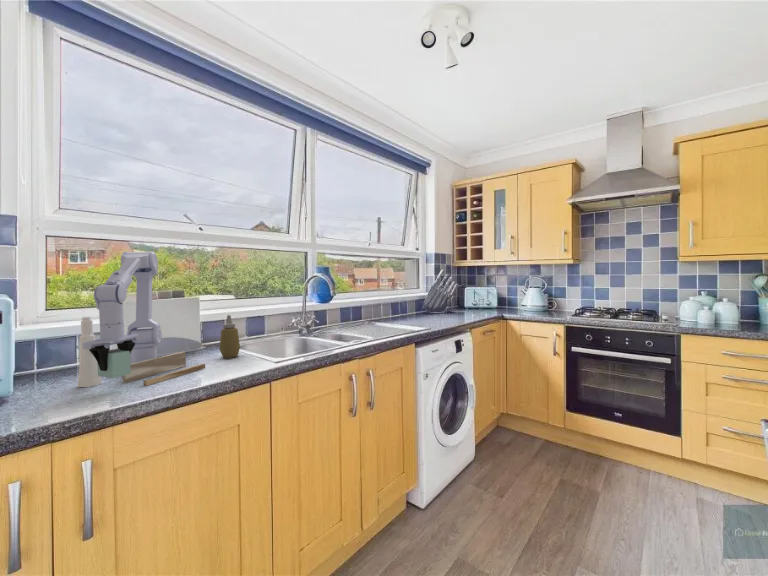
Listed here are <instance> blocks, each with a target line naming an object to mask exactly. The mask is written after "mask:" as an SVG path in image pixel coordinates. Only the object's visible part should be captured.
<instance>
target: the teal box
mask: <svg viewBox="0 0 768 576" xmlns="http://www.w3.org/2000/svg"><path fill="white" fill-rule="evenodd" d="M107 365H108V367H107V371H100V368H99V365H98V362H97V369H98V376H100V377H102V378H110V379H116V378H118V377H119V378H120V377H123V375H127V374H131V368H130V351H123V350H120V349H118V347H117V348H113V349H109V351H108V357H107Z"/></svg>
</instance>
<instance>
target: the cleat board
mask: <svg viewBox="0 0 768 576" xmlns="http://www.w3.org/2000/svg"><path fill="white" fill-rule="evenodd" d="M186 358H187V357H186V351H180V352H174V353H172V354H166V355H163V356H157V358H153V359H149V360H145V361H141V362H137V363H132V364H130V368H131V374H127V375H123V376H122V384H123V383H124V384H126V383H129V382H130V381H131V382H134V381H137V379H138V380H141V379H144V377H145V378H147V377H151V376H154V375H158V374H162V373H165V371H166V372H168V373H166V374H162V375H158V376H155V377H152V378H147V379H145V380H143V386H146V387H149V386H150V385H153V384H154V385H155V384H158V383H160V382H161V383H162V382H164V381H167V380H170V378H171V379H173V378H177V377H180V376H183V375H187V374H190V373H193V372H197V371H199V370H203V369H205V368H206V364H205V363H200V364H196V365H193V366H189V367H186V366H187V363H186V361H187V359H186ZM183 367H186V368H183ZM180 368H183V369H180ZM176 369H179V370H177V371H176ZM169 370H170V371H172V372H170V371H169ZM173 370H175V371H173ZM157 382H158V383H157Z"/></svg>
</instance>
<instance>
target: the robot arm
mask: <svg viewBox="0 0 768 576" xmlns="http://www.w3.org/2000/svg"><path fill="white" fill-rule="evenodd" d="M158 263H159V260H158V257H157V254H156V253H155V251H123V253H122V254H121V255H120V264H121V265H120V268H119V269H118V270H114V271H113V272H112V273H111V274H110V276H109V277H108V278H107V280H106V281H105V282H104V284H100V285H98V286H96V287H95V288H94V291H93V300H94V301H95V302H94V303H95V304H96V310H98V314H99V315H98V317H99V318H98V319H99V336H100V337H99V338H98V339H95V340H93V341H89V342H83V349H87V350H88V349H89V351H90V352H91V353H92V354H93V356H94V357H95V359H96V360H97V362H98V365H99V368H100V371H107V367H108V365H107V357H108V351H109V350H110V348H109V347H106V346H112V345H116V346H117V348H118V349H120V350H123V351H130V364H132V363H137V362H141V361H145V360H149V359H153V358H158V352H157V346H158V345H159V344H160V343H161V342H162V330H161V325H160V323H158V322H156V321H155V320H153V319H152V318H153V315H152V313H153V279H154V276H156V275H157V274H158V269H159V267H158V266H159V264H158ZM132 276H133V277H134V278H136V291H135V292H136V294H135V295H136V296H135V299H136V303H135V305H136V306H135V320H134V321H133V322H132V323H130V324H129V325H127V330H126V331H127V332H126V333H125V322H124V302H125V301H126V300H127V294H128V288H129V287H130V285H131V284H132V282H133V277H132ZM125 334H126V335H125Z"/></svg>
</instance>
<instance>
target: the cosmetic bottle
mask: <svg viewBox="0 0 768 576" xmlns="http://www.w3.org/2000/svg"><path fill="white" fill-rule="evenodd" d="M93 327H94V326H93V319H92V317H91V316H84V317H83V316H82V318H81V321H80V329H81V335H80V336H79V367H78V368H79V369H78V380H77V386H76V387H77V388H79V387H85V388H91V386H92V387H95V386H99V385H101V384H102V383H103V382H102V378H101V376H98V369H97V360H96V359H95V357H94V356H93V354H92V353H91V352H90V351H89V349H88V350H87V349H83V342H89V341H93V340H96V335H95V334H94V329H93Z"/></svg>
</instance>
